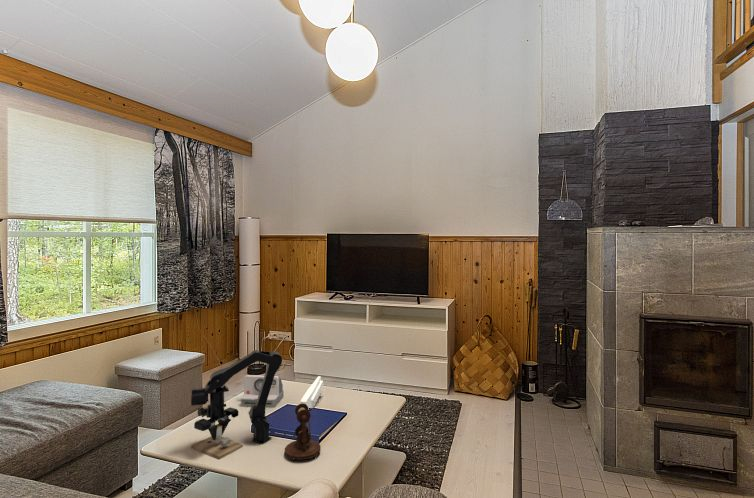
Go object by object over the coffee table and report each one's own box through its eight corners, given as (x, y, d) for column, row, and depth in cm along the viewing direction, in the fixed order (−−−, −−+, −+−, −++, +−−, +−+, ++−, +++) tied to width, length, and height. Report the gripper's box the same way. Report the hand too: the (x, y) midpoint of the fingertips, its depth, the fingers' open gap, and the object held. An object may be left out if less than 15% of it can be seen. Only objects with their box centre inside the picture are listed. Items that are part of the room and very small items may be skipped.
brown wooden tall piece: (323, 460, 172) (323, 411, 172) (286, 465, 168) (286, 415, 168) (317, 443, 186) (317, 398, 186) (283, 448, 182) (283, 401, 182)
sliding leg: (222, 443, 183) (222, 425, 183) (216, 446, 180) (216, 427, 180) (218, 441, 184) (218, 423, 184) (212, 444, 182) (212, 426, 182)
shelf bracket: (325, 396, 243) (324, 376, 241) (310, 423, 219) (308, 401, 217) (316, 395, 244) (315, 376, 242) (300, 422, 221) (298, 400, 218)
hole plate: (242, 447, 183) (242, 436, 183) (219, 459, 173) (219, 447, 173) (214, 437, 192) (214, 426, 192) (191, 448, 182) (191, 437, 182)
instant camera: (235, 406, 228) (235, 378, 228) (255, 393, 248) (255, 367, 248) (272, 410, 223) (272, 382, 223) (289, 396, 244) (289, 370, 243)
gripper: (222, 392, 194) (222, 426, 194) (185, 405, 178) (185, 442, 178) (239, 396, 189) (239, 431, 189) (203, 411, 172) (203, 449, 173)
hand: (217, 438), depth 182 cm, fingers closed on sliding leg, 3 cm apart
